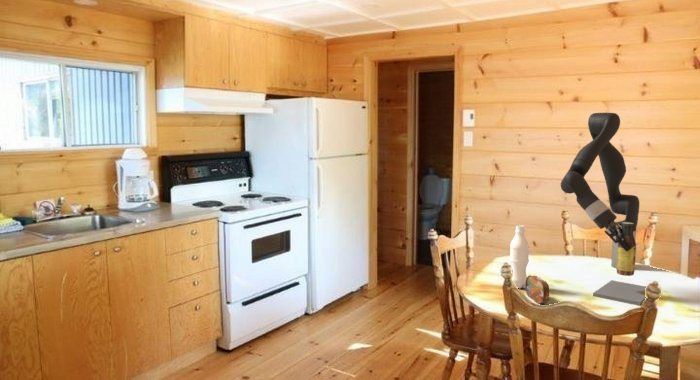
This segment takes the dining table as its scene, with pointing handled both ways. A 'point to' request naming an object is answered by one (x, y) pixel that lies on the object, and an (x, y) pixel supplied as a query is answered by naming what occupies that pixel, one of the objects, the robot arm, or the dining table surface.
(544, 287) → the tin
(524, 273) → the water bottle
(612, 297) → the charcoal board
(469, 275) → the dining table surface
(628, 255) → the sauce bottle
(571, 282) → the dining table surface
